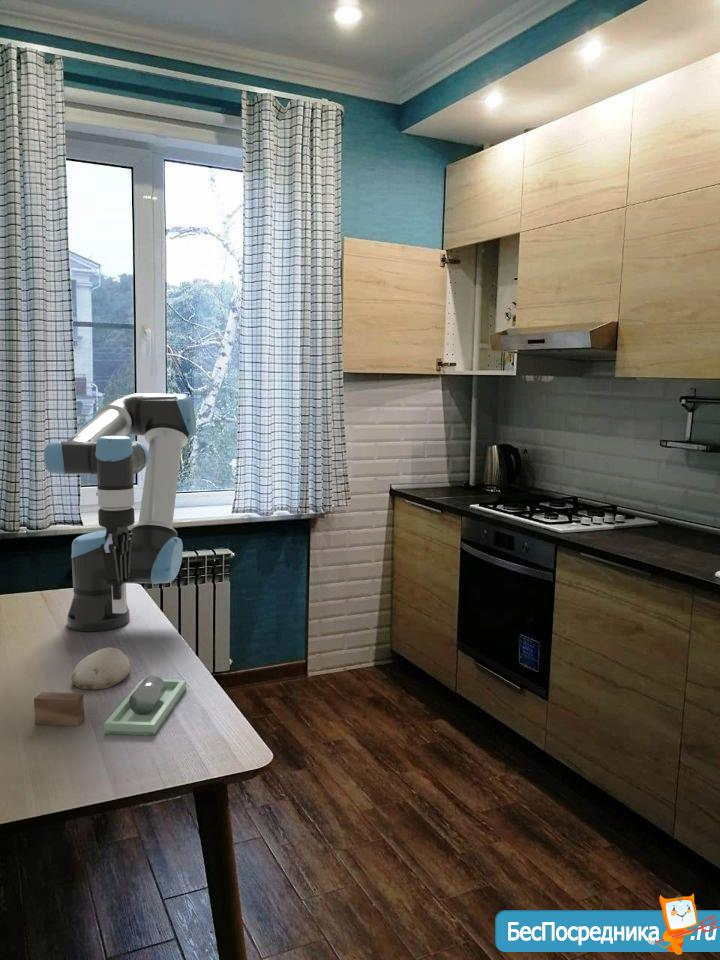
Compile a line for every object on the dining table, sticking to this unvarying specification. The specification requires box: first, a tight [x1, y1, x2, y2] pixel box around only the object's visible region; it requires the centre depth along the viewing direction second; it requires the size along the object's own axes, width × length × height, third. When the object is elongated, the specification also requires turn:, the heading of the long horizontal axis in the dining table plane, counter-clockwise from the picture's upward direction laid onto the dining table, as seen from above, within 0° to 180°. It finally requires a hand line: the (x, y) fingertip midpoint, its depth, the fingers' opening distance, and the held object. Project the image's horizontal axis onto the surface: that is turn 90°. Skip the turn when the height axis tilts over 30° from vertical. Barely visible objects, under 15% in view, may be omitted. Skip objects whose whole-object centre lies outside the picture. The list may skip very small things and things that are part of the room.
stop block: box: [33, 691, 86, 727], centre depth 142 cm, size 3×8×5 cm, turn 87°
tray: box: [103, 678, 187, 737], centre depth 147 cm, size 20×9×2 cm, turn 176°
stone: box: [71, 647, 132, 691], centre depth 162 cm, size 13×10×8 cm
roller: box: [129, 675, 166, 715], centre depth 147 cm, size 5×7×5 cm
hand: (119, 612), depth 171 cm, fingers closed
